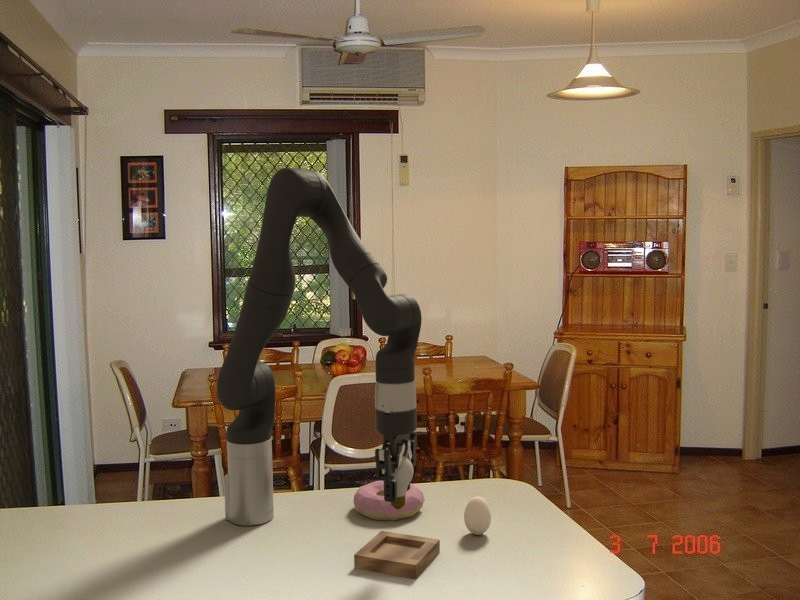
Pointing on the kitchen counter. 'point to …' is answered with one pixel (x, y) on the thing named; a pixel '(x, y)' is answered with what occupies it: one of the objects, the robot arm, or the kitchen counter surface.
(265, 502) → the robot arm
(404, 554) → the base
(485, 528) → the egg
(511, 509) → the kitchen counter surface
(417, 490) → the donut
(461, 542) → the kitchen counter surface
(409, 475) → the light bulb
